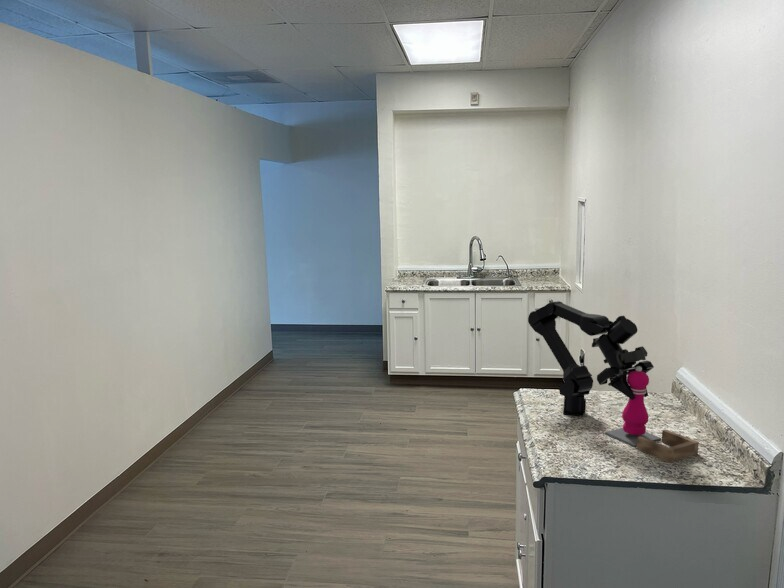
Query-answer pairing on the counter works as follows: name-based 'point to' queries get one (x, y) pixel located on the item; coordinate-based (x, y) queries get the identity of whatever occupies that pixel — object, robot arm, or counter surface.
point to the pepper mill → (636, 403)
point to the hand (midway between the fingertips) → (640, 397)
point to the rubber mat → (630, 436)
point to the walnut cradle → (678, 451)
